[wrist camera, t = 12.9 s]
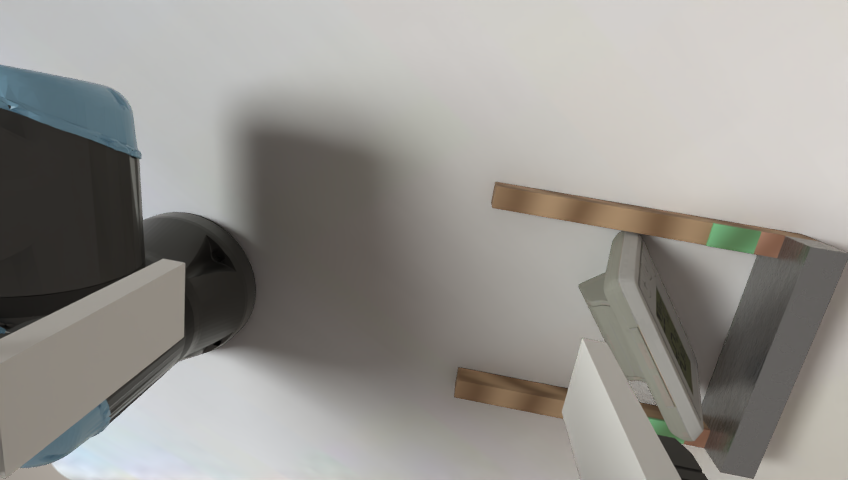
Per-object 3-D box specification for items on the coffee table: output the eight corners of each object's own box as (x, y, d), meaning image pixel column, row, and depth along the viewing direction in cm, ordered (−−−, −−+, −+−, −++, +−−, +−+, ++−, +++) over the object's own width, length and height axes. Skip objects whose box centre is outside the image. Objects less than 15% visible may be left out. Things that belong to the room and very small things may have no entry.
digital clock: (692, 367, 49) (750, 437, 38) (601, 385, 50) (633, 457, 40) (664, 215, 45) (720, 248, 35) (567, 240, 46) (592, 278, 36)
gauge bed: (455, 383, 52) (454, 398, 49) (495, 181, 46) (496, 186, 43) (721, 436, 50) (735, 454, 48) (801, 233, 44) (821, 242, 41)
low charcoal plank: (692, 430, 50) (720, 472, 45) (767, 228, 44) (810, 246, 38) (721, 435, 50) (753, 478, 44) (801, 234, 44) (850, 253, 38)
